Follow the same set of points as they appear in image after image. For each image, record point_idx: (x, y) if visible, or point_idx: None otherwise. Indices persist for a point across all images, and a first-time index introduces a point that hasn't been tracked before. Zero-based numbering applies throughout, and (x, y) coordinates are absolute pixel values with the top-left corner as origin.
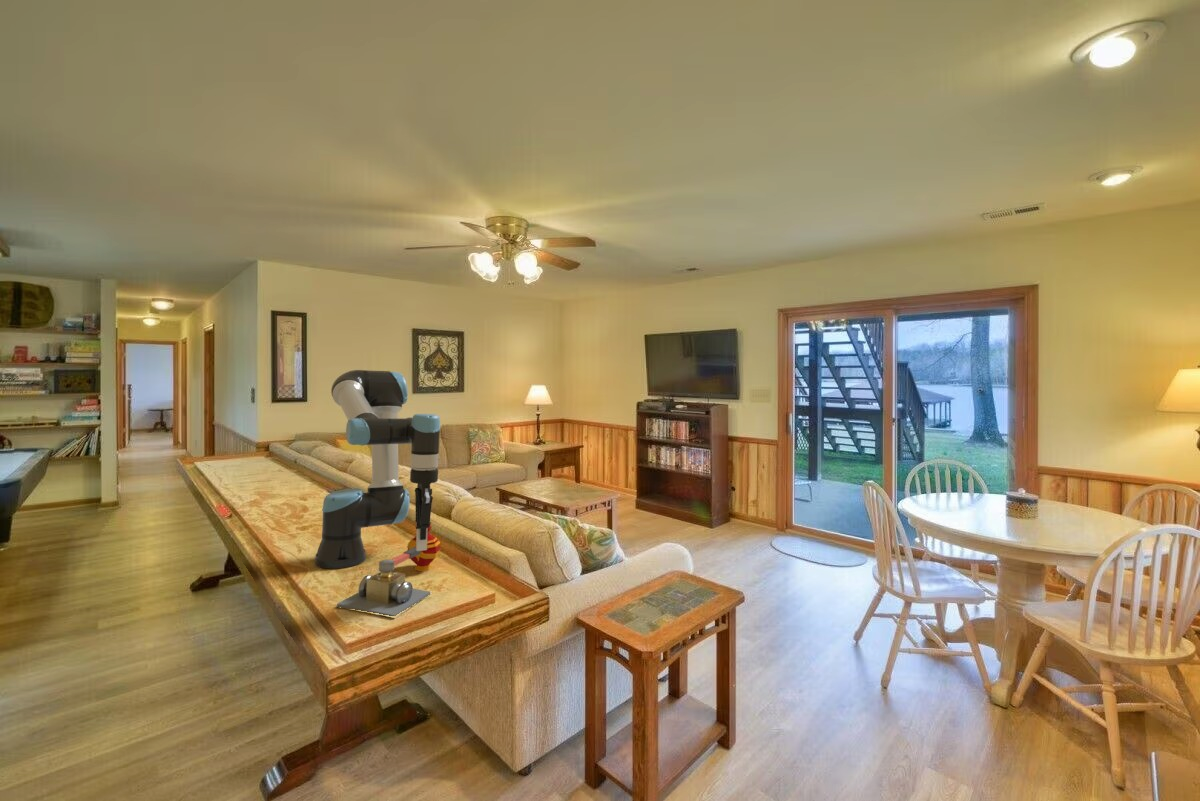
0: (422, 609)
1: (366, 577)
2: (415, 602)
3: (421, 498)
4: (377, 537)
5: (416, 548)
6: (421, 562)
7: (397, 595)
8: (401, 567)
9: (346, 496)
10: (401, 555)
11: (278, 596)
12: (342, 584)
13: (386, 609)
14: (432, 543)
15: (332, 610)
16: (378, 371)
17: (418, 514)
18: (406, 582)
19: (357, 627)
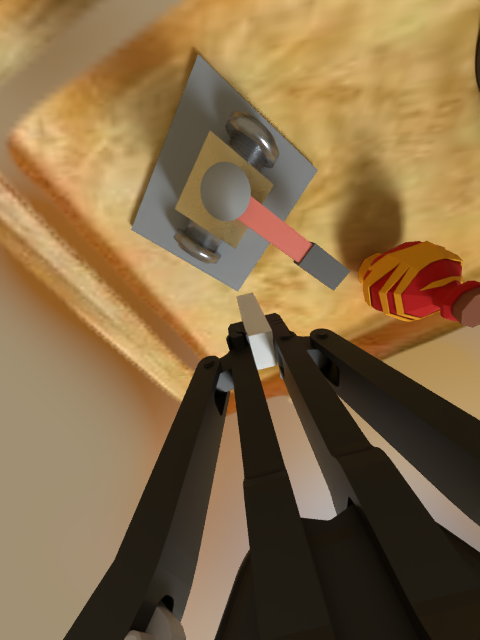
0: (176, 279)
1: (249, 128)
2: (196, 266)
3: (231, 613)
4: None
5: (247, 296)
6: (366, 272)
7: (175, 232)
8: (398, 223)
9: None
10: (293, 238)
11: None
12: (353, 55)
13: (159, 208)
14: (394, 309)
15: (181, 47)
16: None
17: (294, 379)
18: (196, 254)
19: (88, 145)
